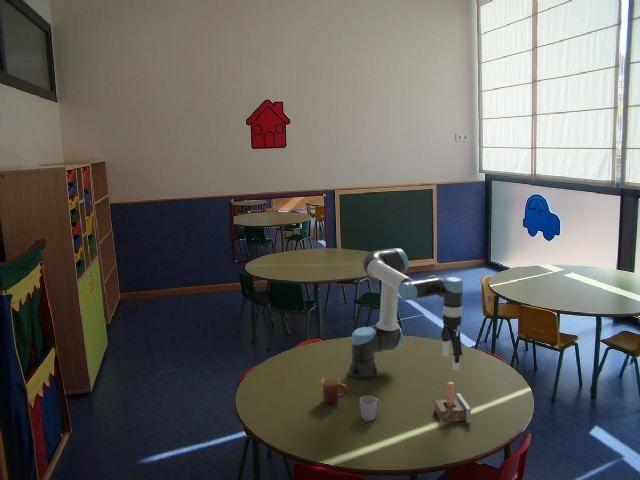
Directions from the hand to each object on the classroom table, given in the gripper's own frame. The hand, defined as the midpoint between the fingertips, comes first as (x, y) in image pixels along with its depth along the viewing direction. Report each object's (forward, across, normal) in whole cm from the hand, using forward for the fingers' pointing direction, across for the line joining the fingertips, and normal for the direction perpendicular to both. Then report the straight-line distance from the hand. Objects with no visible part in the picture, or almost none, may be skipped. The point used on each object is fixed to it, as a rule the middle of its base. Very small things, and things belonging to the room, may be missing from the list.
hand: (450, 362), depth 233 cm
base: (+24, -1, -6) cm, 25 cm away
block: (+24, -1, 0) cm, 25 cm away
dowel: (+23, -1, 0) cm, 23 cm away
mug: (+25, +17, +48) cm, 57 cm away
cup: (+25, +2, +34) cm, 42 cm away
